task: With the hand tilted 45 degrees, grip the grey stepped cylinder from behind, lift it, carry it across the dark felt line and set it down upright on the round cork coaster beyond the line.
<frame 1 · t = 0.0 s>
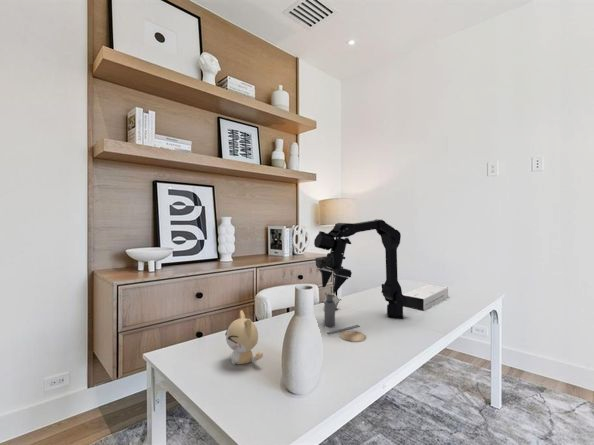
hand: (328, 289, 130), 15 cm above the table, tool pointing down, fingers open, 9 cm apart
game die: (331, 309, 155), on the table
grey stepped cylinder: (329, 325, 132), on the table
cork coaster: (352, 336, 121), on the table
kitten: (241, 361, 101), on the table
felt line: (344, 329, 127), on the table
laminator: (424, 302, 169), on the table
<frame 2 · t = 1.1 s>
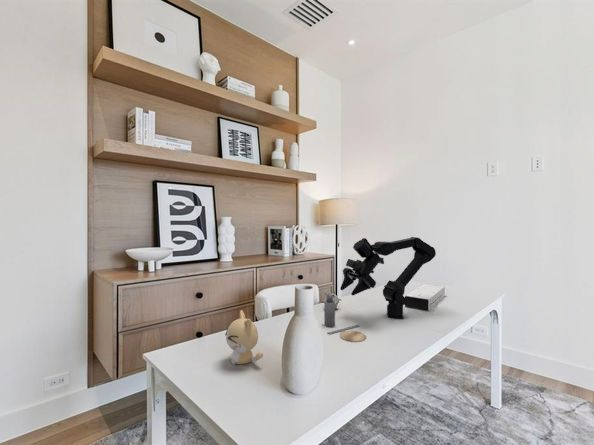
hand: (346, 292, 135), 13 cm above the table, tool tilted 45°, fingers open, 9 cm apart
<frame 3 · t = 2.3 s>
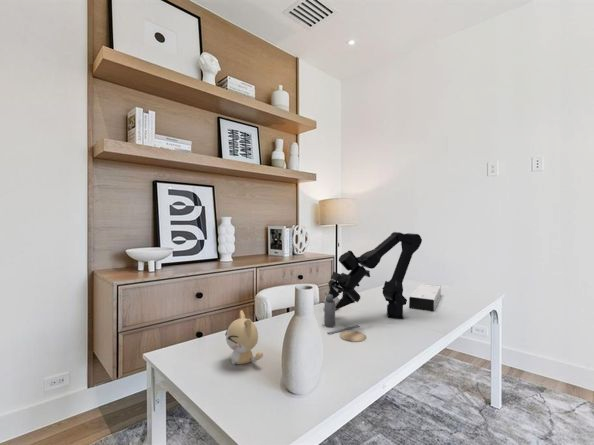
hand: (330, 305, 132), 8 cm above the table, tool tilted 45°, fingers open, 9 cm apart
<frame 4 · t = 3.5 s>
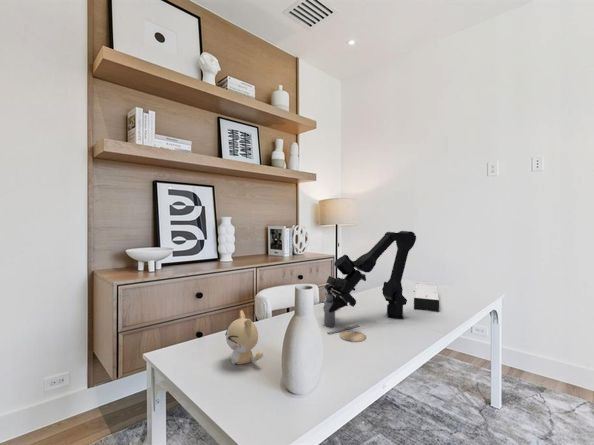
hand: (326, 310, 132), 7 cm above the table, tool tilted 45°, fingers closed on grey stepped cylinder, 4 cm apart
grey stepped cylinder: (329, 325, 132), on the table, touching gripper
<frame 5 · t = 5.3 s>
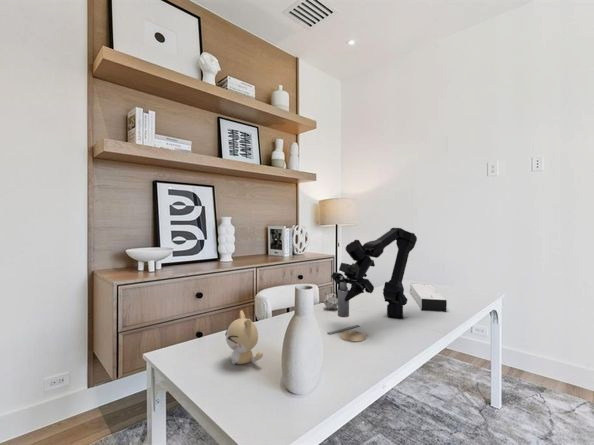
hand: (340, 299, 123), 13 cm above the table, tool tilted 45°, fingers closed on grey stepped cylinder, 4 cm apart
grey stepped cylinder: (343, 315, 124), point 7 cm above the table, touching gripper
when the fingers open (8 cm above the table, at t = 7.1 s): grey stepped cylinder stays where it is, resting on cork coaster.
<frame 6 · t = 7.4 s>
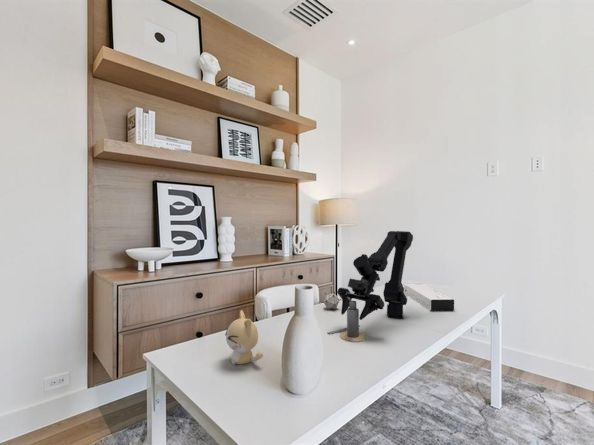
hand: (350, 316, 119), 8 cm above the table, tool tilted 45°, fingers open, 8 cm apart
grey stepped cylinder: (352, 335, 121), resting on cork coaster
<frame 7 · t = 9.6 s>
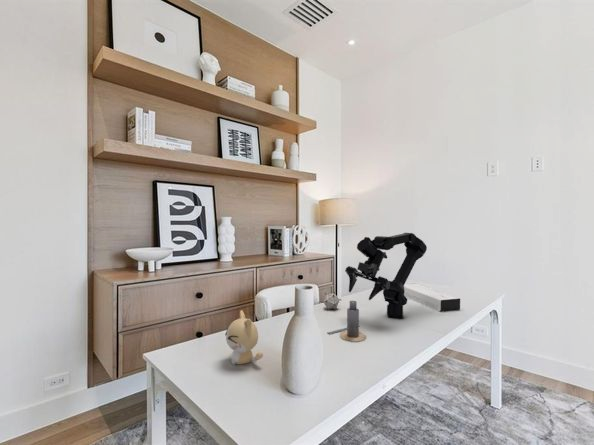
hand: (359, 295, 130), 13 cm above the table, tool tilted 35°, fingers open, 9 cm apart
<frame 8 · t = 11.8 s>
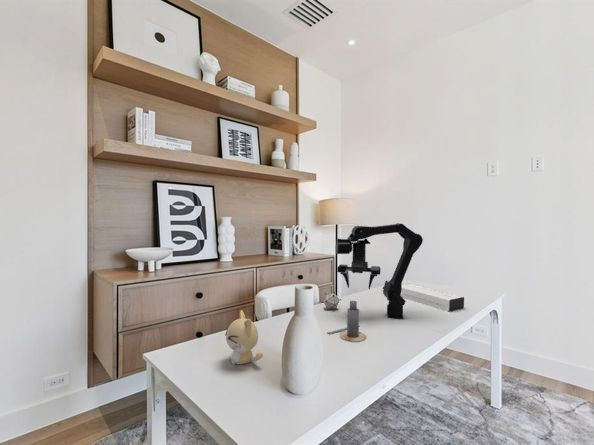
hand: (358, 288, 143), 13 cm above the table, tool pointing down, fingers open, 9 cm apart
at the end: grey stepped cylinder 0.0 cm from the cork coaster (horizontally); grey stepped cylinder tilted 0°; the gripper is holding nothing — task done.
